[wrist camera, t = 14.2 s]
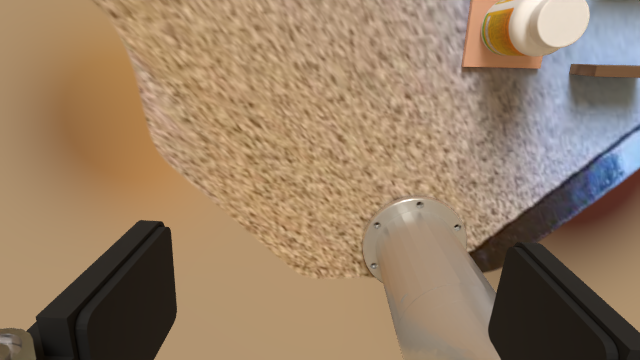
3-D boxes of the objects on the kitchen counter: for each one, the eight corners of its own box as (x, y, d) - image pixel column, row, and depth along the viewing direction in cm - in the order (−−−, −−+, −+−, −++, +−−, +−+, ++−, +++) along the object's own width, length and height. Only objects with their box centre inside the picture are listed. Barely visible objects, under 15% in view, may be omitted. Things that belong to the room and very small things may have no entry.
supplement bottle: (504, 66, 40) (559, 72, 30) (468, 32, 39) (513, 27, 29) (544, 22, 38) (614, 14, 29) (508, -15, 37) (568, -35, 28)
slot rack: (635, 75, 40) (667, 78, 37) (569, 73, 40) (594, 76, 37) (668, -43, 37) (708, -53, 33) (596, -44, 37) (627, -55, 33)
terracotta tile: (537, 68, 40) (540, 68, 40) (461, 66, 40) (463, 66, 40) (554, -17, 38) (557, -18, 37) (473, -18, 38) (475, -20, 37)
